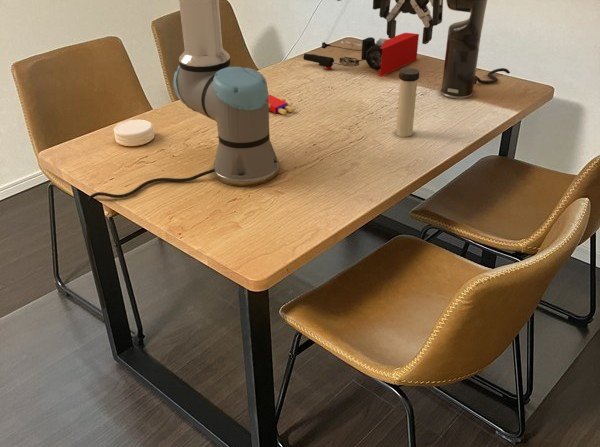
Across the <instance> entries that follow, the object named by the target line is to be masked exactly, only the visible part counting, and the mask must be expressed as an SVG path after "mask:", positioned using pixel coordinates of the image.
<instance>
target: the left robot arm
mask: <svg viewBox="0 0 600 447" xmlns="http://www.w3.org/2000/svg"><path fill="white" fill-rule="evenodd" d="M336 1H337V2H340V1H341V0H336ZM178 3H179V12H180V20H181V30H182V31H181V32H182V38H183V47H184V51H183V52H182V53H181V54H180V56H179V57H178V62H179V63H178V64H179V65H178V66H177V69H176V70H175V72H174V73H173V74H174V75H173V90H174V92H175V95H176V97H177V98H178V100H179V101H180V102H181V103H182V104H183V105H185V106H186V107H187V108H188V109H190V110H191V111H193V112H196V113H199V114H200V115H202V116H204V117H206V118H209V119H210V120H212V121H215V122H216V126H217V135H218V145H217V149H216V153H215V159H214V162H213V165H212V169H209V170H205V171H203V172H200V173H197V174H195V175H193V176H190V177H185V178H184V177H183V178H174V177H173V178H172V177H157V178H152V179H149V180H147V181H144V182H143V183H141V184H140V185H138V186H137V187H136V188H134V189H132V190H131V191H129V192H126V193H123V194H115V193H109V192H104V191H103V192H102V191H98V192H94V193H92V194H91V195H89V196H88V198H87V200H88V201H90V200H93V199H94V198H96V197H98V196H101V197H108V198H113V199H123V198H127V197H130V196H132V195H134V194H136V193H138V191H140V190H142V189H143V188H145V187H147V186H148V185H151V184H153V183H157V182H158V183H159V182H172V183H173V182H174V183H183V182H184V183H185V182H191V181H194V180H197V179H199V178H200V177H204V176H207V175H209V174H213V176H214V177H215V179H217V181H219V182H220V183H223V184H225V185H228V186H229V185H230V186H234V187H251V186H252V187H253V186H257V185H261V184H265V183H267V182H269V181H271V180H273V179H274V178H275V177H276V176H277V175H278V174H279V171H280V166H279V164H280V163H279V160H278V156H277V154H276V151H275V149H274V146H273V144H272V142H271V138H270V136H271V135H270V134H271V133H270V110H269V104H268V97H269V95H270V94H269V89H268V83H267V79H266V77H265V76H264V75H263V74H262V73H261V72H260V71H258V70H256V69H253V68H250V67H242V66H231V55H230V54H229V53H228V52H227V51H226V50H225V49H224V48H223V37H222V26H221V14H220V13H221V11H220V0H178ZM380 4H381V0H372V10H374V11H375V10H380ZM85 224H86V225H85V232H86V243H87V249H88V255H89V259H90V264H91V267H92V272H93V275H94V279H95V282H96V286H97V290H98V294H99V298H100V303H101V308H102V309H106V304H105V298H104V294H103V289H102V286H101V282H100V279H99V274H98V272H97V268H96V262H95V258H94V254H93V249H92V242H91V229H90V225H89V224H87V223H85Z"/></svg>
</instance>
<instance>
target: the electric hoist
mask: <svg viewBox="0 0 600 447" xmlns="http://www.w3.org/2000/svg"><path fill="white" fill-rule="evenodd" d="M419 38H420V34H419V33H414V32H403V33H400V34H397V35H395V37H394V38H392V39H391V38H382V37H381V38H380V37H379V38H378V40H375V39H376V38H374V37H373V36H370V37H365V38H364V39H362V40H361V41H362V43H360V42H355V41H351V42H350V41H347V40H343V41H342V40H341V41H340V42H341V44H343V45H350V46H351V47H354V46H358V47H361V49H353V48H346V47H340V46H336V45H332V44H329V43H326V42H325V41H323V42H322V43H321V49H324V50H325V49H326V48H327V47H332V48H338V49H343V50H344V49H345V50H349V51H356V52H361V58H360V59H357V58H354V57H348V56H342V57H339V63H336V62H335V59H334V57H331V56H325V55H319V54H314V53H304V54H303V57H302V58H303V60H304V61H308V62H312V63H316V64H317V63H318V66H319V67H323V68H324V67H325V70H332V67H333V66H334V65H338V66H344V67H350V66H354V67H358V66H360V62H363V61H365V62H366V64H367V65H368V67H369V68H370V69H372V70H375V71H377V72H378V71H379V73H378V74H377V76H378V77H382V76H385V75H387V74H389V73H391V72H394V71H395V70H397V69H399V68H400V69H401V68H402V67H404V66H406V65H408V64H410V63H413V62H414V61H417V59H418V58H417V57H418V49H419V48H418V47H419Z"/></svg>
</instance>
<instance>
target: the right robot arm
mask: <svg viewBox="0 0 600 447" xmlns="http://www.w3.org/2000/svg"><path fill="white" fill-rule="evenodd" d="M394 1H395V5H394V6H393V7H392V9H390V8H391V0H381V4H380V9H379V12H378V13H379V14H378V16H379V18H383V19H384V20H386V35H387V37H388V38H387V39H390V38H391V39H392V38H394V37H395V36H396V33H397V20H396V18H397V17H398V16H399V15H400V14H401V13H402V14H410V15H415V16H416V15H417V17H418V18H419V19H420V21H421V22H422V24H423V25H424V26H423V30H422V41H421V43H422V45H428V44H429V43H430V41H432V39H433V29H434V27H435V26H438V25H439V24H441V23H443V11H444V8H443V6H444V0H394ZM445 1H446V2H445V3H446V6H447V8H448V9H449V10H451V11H454V12H463V13H470V14H469V18H467V19H465V20H462V21H457V22H453V23H451V24H450V25H449V26H448V29H447V36H446V37H447V39H446V45H445V47H446V48H445V54H444V55H445V56H444V65H443V74H442V82H441V89H440V95H442V96H444V97H446V98H449V99H455V100H464V99H465V100H466V99H469V98H471V97H473V95H474V87H475V85H477V83H479V84H484V85H490V84H491V85H492V84H496V83H497V82H498V80H499V79H498V77H496V76H495V75H494V74H496V73H499V72H505V73H506V74H510V73H511V71H510V70H509V69H508V68H505V67H500V68H495V69H493V70H491V71H489V72H488V73H487V77H488V78H489V79H490V80H485V79H484V80H483V79H481V78H480V77H478V76H477V75H476V72H477V67H478V66H477V65H478V59H479V58H478V57H479V52H480V45H481V44H480V43H481V37H482V32H483V26H484V20H485V16H486V15H485V14H486V9H487V4H488V0H445ZM429 2H430V5H431V7H432V14H431V11H430V10H431V9H430V8H429V6H428V4H429Z"/></svg>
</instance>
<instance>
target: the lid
mask: <svg viewBox="0 0 600 447" xmlns="http://www.w3.org/2000/svg"><path fill="white" fill-rule="evenodd" d="M398 79H399V80H400V79H401V80H403V81H416V80H417V81H418V80H419V79H420V70H419V69H417V68H413V67H404V68H400V70H399V72H398Z"/></svg>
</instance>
